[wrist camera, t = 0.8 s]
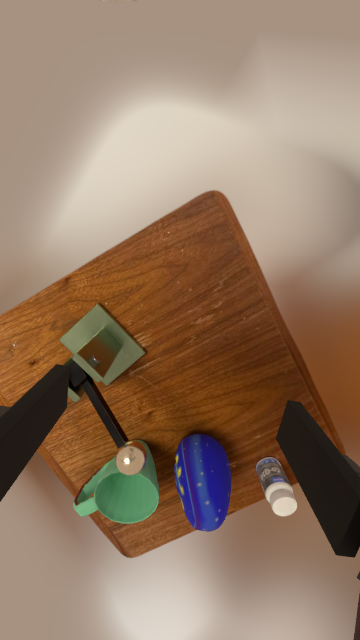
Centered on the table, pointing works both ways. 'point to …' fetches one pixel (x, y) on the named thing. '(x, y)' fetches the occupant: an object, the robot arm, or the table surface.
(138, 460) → the lever
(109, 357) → the bracket
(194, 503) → the ornament
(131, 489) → the mug
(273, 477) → the pill bottle
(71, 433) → the table surface
